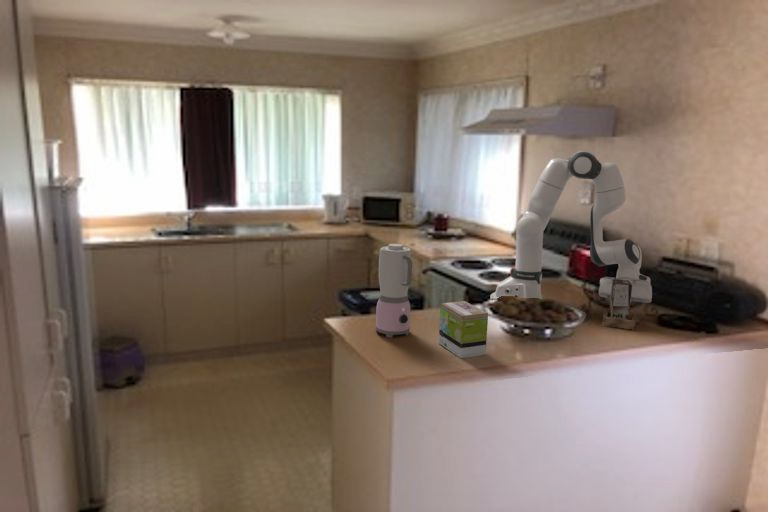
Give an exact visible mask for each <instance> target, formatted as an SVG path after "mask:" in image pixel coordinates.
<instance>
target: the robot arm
mask: <svg viewBox="0 0 768 512" xmlns="http://www.w3.org/2000/svg"><path fill="white" fill-rule="evenodd" d="M621 173H622V172H620V169H619V166H618V165H617V164H616V163H615V162H607V161H606V162H600V161H599V160H598V159H597V156H596V155H595V154H594V153H592V152H591V151H589V150H579V151H576V152H575V153H574V154H573V155H572V156H570V157H569V158H567V159H564V158H559V157H556V158H551V159H550V160H549V161H548V163H547V164H546V166H545V167H544V169H543V170H542V172H541V174H540V176H539V178H538V180H537V182H536V185H535V186H534V189H533V191H532V193H531V195H530V197H529V200H528V202H527V205H526V208H525V210H524V212H523V214H522V216H521V217H520V218H519V220H518V221H517V222H516V223H517V224H516V235H515V236H516V238H515V239H516V243H515V245H516V250H515V251H516V252H515V253H516V255H515V266H513V267H512V268H511V269H510V271H509V275H510V276H508V277H507V278H505V279H503V280H502V281H500V282H499V283H498V284H497V286H496V287H495V288H496V289H495V291H494V292H492V293H491V294H490V298H489V299H490V300H491V301H495V300H494V299H497V298H499V297H501V296H515V297H520V298H540V299H542V290H541V283H542V280H543V279H542V277H543V270H542V265H543V254H544V253H543V246H544V243H543V242H544V231H545V229H546V228H547V226H548V223H549V221H550V219H551V216H552V214H553V212H554V210H555V208H556V206H557V204H558V202H559V200H560V197H561V195H562V193H563V192H564V189H565V187H566V185H567V182H569V180H570V178H573V177H575V178H578V179H583V180H591V181H592V182H593V185H594V190H595V194H596V195H595V197H596V198H595V202H594V204H593V205H592V206H591V208H590V218H589V219H590V223H589V224H590V226H589V227H590V250H589V257H590V260H591V262H592V263H593V264H594V265H597V266H598V267H604V266H610V265H617V264H618V268H617V270H616V276H615V277H611V276H610V277H609V276H604V277H602V278H601V277H600V280H599V289H598V295H599V298H600V297H601V298H605V299H610V297H611V287H612V279H614V280H629V282H630V283H631V284H632V292H631V300H630V304H631V303H632V302H635V303H636V302H638V303H645V304H650V303H651V302H652V298H653V287H652V285H651V278H650V277H649V276H646V275H644V274H642V273H640V269H641V268H642V267H641V266H642V260H643V259H642V258H643V256H642V255H643V254H642V249H641V247H640V246H639V245H638V244H637V243H635V242H634V241H633V240H632V239H629V238H627V239H626V238H624V239H617V240H610V241H604V239H603V238H604V237H603V236H604V233H603V223H604V220H605V218H606V217H607V216H609V215H610V214H613V213H614V212H616V211H618V210H619V209H620V208H621V207H622V206H623V205H624V204H625V201H626V190H625V183H624V180H623V177H622V174H621ZM542 300H543V299H542Z"/></svg>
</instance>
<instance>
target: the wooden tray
mask: <svg viewBox="0 0 768 512" xmlns="http://www.w3.org/2000/svg"><path fill="white" fill-rule="evenodd" d="M640 318H641V314H640V313H634V314H633V315H632V318H631V320H630V319H628V320H625V319H619V318H612V317H609V309H608V308H603V311H602V321H601V326H602V325H604V326H603V327H607V326H611V327H610V328H614V327H618V328H617V329H620V328H625V329H624V330H626V329H632V330H631V331H633V330H634V331H635V328H634V327H636V324H637V323H636V322H639V323H640Z"/></svg>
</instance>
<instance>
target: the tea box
mask: <svg viewBox="0 0 768 512" xmlns="http://www.w3.org/2000/svg"><path fill="white" fill-rule="evenodd" d="M488 321H489V313H488V312H487V311H485V310H483V309H481V308H479V307H477V306H475V305H473V304H471V303H469V302H467V301H465V300H462V301H452V302H451V301H450V302H445V303H443V302H440V306H439V326H438V327H439V330H438V331H439V332H438V344H439V345H441V346H443V347H444V348H446V350H448V351H449V352H450V353H452V354H453V355H455V356H456V357H458V358H459V359H467V358H474V356H475V357H480V356H486V353H487V352H486V351H487V337H488V324H489V323H488Z"/></svg>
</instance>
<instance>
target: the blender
mask: <svg viewBox="0 0 768 512" xmlns="http://www.w3.org/2000/svg"><path fill="white" fill-rule="evenodd" d="M412 276H413V261H412V250H411V248H410V247H406V246H404V245H403V244H401V243H389V244H388V245H387V246H383V247H380V249H379V259H378V284H379V290H380V296H379V298H378V301H377V303H376V307H375V308H376V311H375V313H376V314H375V320H376V321H375V330H376V331H377V333H381V334H384V335H385V337H386V338H389V339H392V338H393V337H394V336H397V335H403V334H404V335H405V336H409V334H410V329H411V328H410V325H411V323H410V322H411V305H410V304H411V303H410V301H409V299H408V292H409V287H410V285H411V284H412V279H413V278H412Z"/></svg>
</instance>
